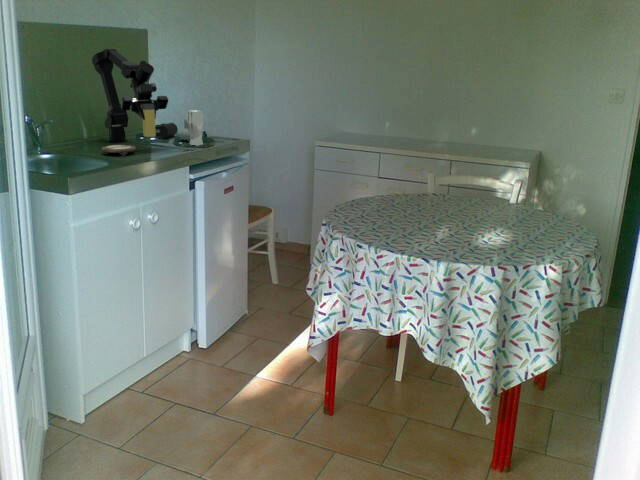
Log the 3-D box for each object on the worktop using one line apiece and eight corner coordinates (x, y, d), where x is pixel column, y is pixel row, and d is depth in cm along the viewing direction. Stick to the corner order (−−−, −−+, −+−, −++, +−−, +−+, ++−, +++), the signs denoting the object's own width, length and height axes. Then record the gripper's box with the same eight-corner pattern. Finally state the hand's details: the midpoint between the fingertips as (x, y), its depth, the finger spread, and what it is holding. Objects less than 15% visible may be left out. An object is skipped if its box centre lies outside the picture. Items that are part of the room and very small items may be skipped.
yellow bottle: (143, 135, 266) (141, 103, 262) (153, 135, 268) (151, 103, 264) (146, 136, 262) (144, 104, 258) (155, 136, 264) (154, 104, 260)
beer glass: (189, 143, 288) (187, 109, 284) (204, 143, 289) (203, 110, 284) (187, 146, 282) (185, 111, 277) (203, 146, 282) (202, 111, 278)
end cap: (168, 140, 298) (167, 125, 296) (154, 139, 300) (153, 124, 298) (178, 137, 307) (177, 122, 305) (164, 136, 309) (164, 122, 307)
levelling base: (95, 154, 257) (94, 147, 256) (117, 150, 268) (117, 143, 267) (120, 157, 252) (120, 150, 251) (142, 152, 263) (142, 146, 262)
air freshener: (188, 143, 290) (187, 120, 287) (176, 141, 295) (175, 119, 292) (206, 140, 298) (205, 118, 295) (194, 138, 303) (193, 117, 300)
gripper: (120, 76, 256) (129, 107, 251) (165, 76, 266) (175, 105, 260) (116, 94, 265) (125, 124, 260) (161, 93, 274) (170, 122, 269)
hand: (149, 119), depth 262 cm, fingers closed on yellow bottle, 4 cm apart
